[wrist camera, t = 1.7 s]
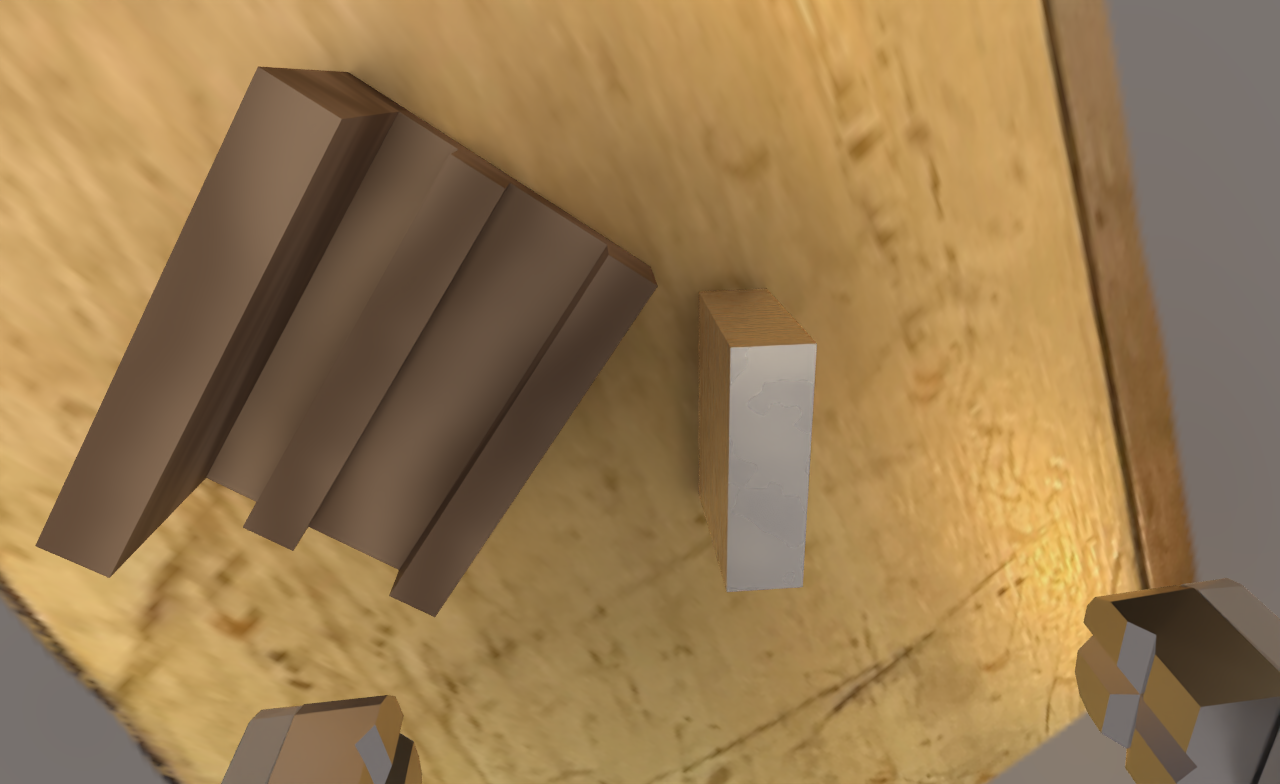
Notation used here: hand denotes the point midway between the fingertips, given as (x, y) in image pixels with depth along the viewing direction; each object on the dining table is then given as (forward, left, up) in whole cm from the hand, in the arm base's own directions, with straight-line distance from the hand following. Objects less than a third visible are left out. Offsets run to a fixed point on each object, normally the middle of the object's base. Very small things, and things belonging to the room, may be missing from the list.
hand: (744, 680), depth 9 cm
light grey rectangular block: (-8, +3, -26) cm, 27 cm away
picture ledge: (+6, +9, -26) cm, 28 cm away
